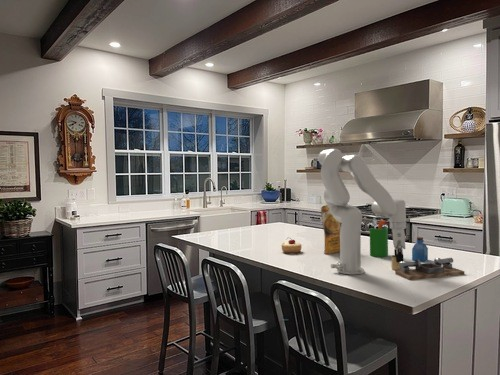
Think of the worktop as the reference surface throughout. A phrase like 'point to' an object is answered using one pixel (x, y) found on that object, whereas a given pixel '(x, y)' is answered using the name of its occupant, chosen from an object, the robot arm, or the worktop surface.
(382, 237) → the green bottle
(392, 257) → the coupling block
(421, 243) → the perfume bottle
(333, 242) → the pancake mix bag
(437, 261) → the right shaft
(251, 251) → the worktop surface
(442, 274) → the stand
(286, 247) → the pastry
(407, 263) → the left shaft
